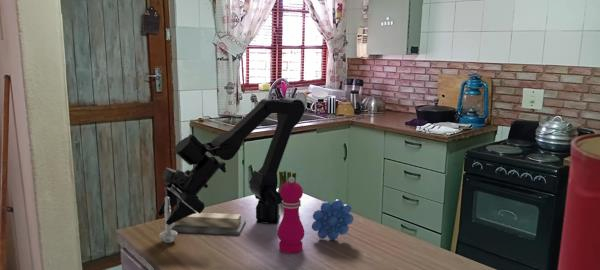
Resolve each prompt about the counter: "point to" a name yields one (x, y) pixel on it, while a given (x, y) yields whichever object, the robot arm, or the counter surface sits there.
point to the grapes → (332, 219)
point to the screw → (168, 233)
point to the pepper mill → (291, 218)
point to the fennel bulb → (283, 178)
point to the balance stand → (210, 223)
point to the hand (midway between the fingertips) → (162, 219)
